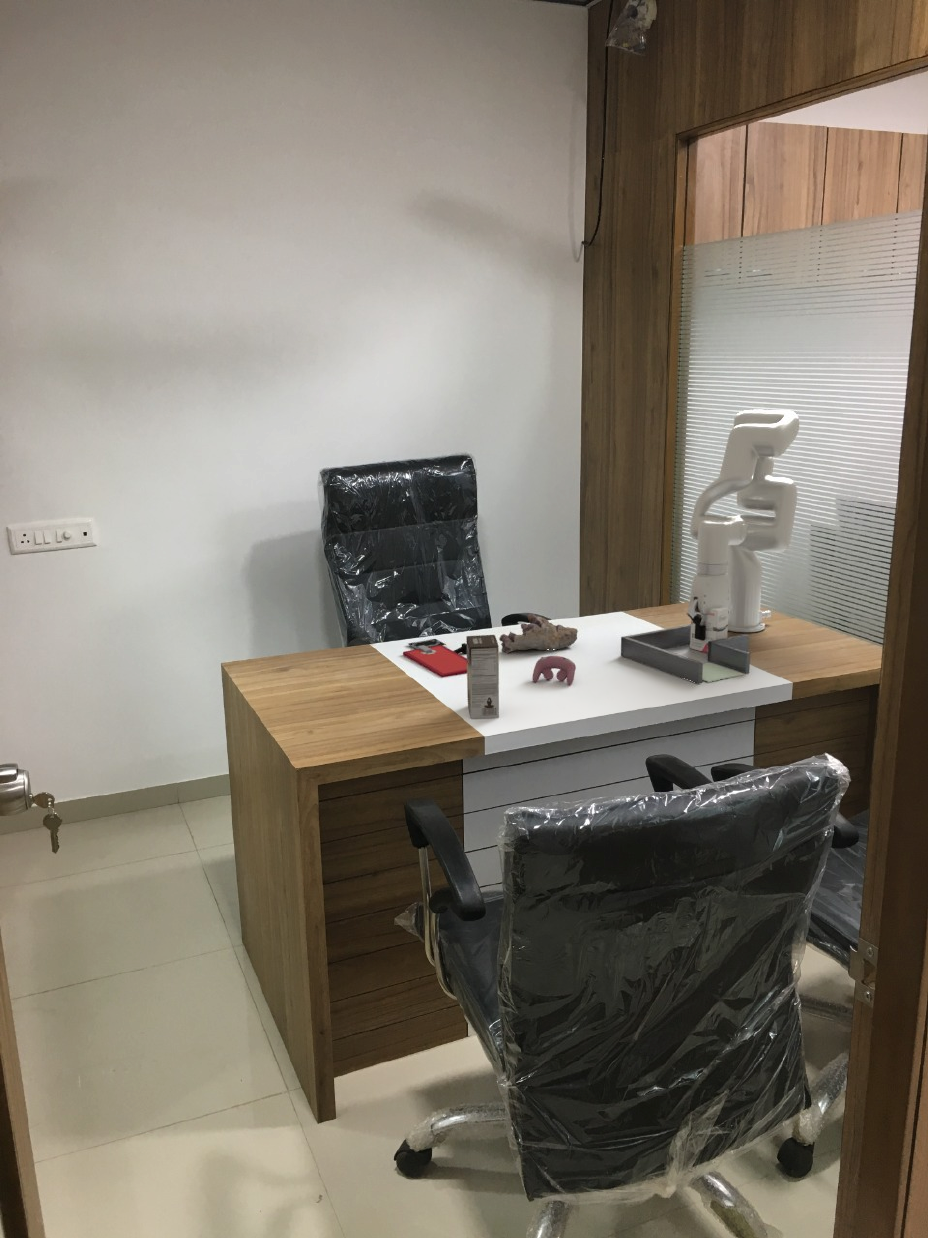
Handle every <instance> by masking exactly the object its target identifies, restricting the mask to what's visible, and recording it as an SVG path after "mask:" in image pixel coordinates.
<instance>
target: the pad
mask: <svg viewBox="0 0 928 1238" xmlns="http://www.w3.org/2000/svg"><path fill="white" fill-rule="evenodd" d="M743 674H744V673H742V672H739V671H736V670H733V669H730V668H727V667H725V666H722V665H719V664H716V663H713V662H705V663H703V673H702V680H704V681H703V682H705V681H707V682H710V683H713V682H712V681H714V682H716V681H715V680H719V681H721V680H720V679H723V680H726V679H725V678H728V679H731V678H736V677H740V676H743ZM707 682H706V683H707Z"/></svg>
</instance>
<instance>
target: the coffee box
mask: <svg viewBox="0 0 928 1238" xmlns="http://www.w3.org/2000/svg"><path fill="white" fill-rule="evenodd" d="M465 640H466V644H467V654H466V658H467V673H466V681H467V682H466V685H467V686H466V688H467V689H466V690H467V693H466V694H467V708H468V713H469V717H470V719H471V720H475V719H476V720H477V719H481V720H482V719H496V718H497V719H498V718H500V711H499V710H500V708H499V707H500V699H499V698H500V690H499V689H500V687H499V684H500V681H499V680H500V678H499V675H500V674H499V673H500V672H499V671H500V669H499V667H500V666H499V663H500V661H499V660H500V659H499V658H500V657H499V655H500V653H499V647H500V646H499V643H498V640H497V636H496V635H495V634H485V635H484V634H482V635H480V634H479V635H467V636H466V639H465Z"/></svg>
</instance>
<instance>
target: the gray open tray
mask: <svg viewBox="0 0 928 1238" xmlns="http://www.w3.org/2000/svg"><path fill="white" fill-rule="evenodd" d="M690 637H691V623H690V624H683V625H679V626H674V627H673V626H672V627H668V628H661V629H657V630H652V631H647V632H641V633H635V634H630V635H626V636H625V635H624V636H621V637H620V639H621V641H620V657H623V658H625V659H628V660H631V661H634V662H637V663H639V664H643V665H644V666H647V667H650V668H652V669H655V670H657V671H661V672H663V673H666V674H670V675H672V676H674V675H675V677H676V678H677V677H678V678H680V679H682V678H685V679H688V680H691V681H693V682H695V683H694V684H696V683H702V684H703V681H702V673H703V664H704V663H703V662H702V661H700V660H695V659H692V658H690V657H687V656H685V655H682V654H678V653H675V652H672V651H670V650H668V649H671V648H677V647H682V646H687V645H690ZM749 647H750V634H747V633H744V634H743V633H742V634H737V635H735V636H727V638H723V639H718V640H713V641H708V653H706V654H707V656H706V658H707V659H706V660H708V661H707V662H709V663H713V664H716V665H719V666H722V667H725V668H727V667H728V669H731V670H734V671H737V672H740V673H743V674H749V673H750V667H751V652H750V651H749V649H750V648H749ZM666 649H667V650H666ZM685 679H684V680H685ZM688 680H687V681H688ZM691 681H690V682H691ZM693 682H692V683H693Z"/></svg>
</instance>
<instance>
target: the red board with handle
mask: <svg viewBox="0 0 928 1238" xmlns="http://www.w3.org/2000/svg"><path fill="white" fill-rule="evenodd" d="M407 645H409V646H411V647H412V648H413V649H411V650H407V651H403V652H402V656H404V657H406V658H407V659H410V660H411V661H412V662H414V663H416V664H418V665H419V666H421V667H423V668H425V669H426V670H428V671H430V672H431V673H434V674H436V675H437V676H439V677H440V678H447V677H448V678H449V677H453V676H459V675H464V674H467V657H465V656H463V655H466V656H467V643H466V642H465V643H461V647H458V648H455V649H454V650H452V649H450V648H449V647H447V646H446V645H447V644H446V643H444V642H442V640H441V641H440V640H439V639H437V638H433V639H432V638H431V639H426V640H425V639H424V640H421V641H413V642H409V643H407ZM461 654H463V655H461Z"/></svg>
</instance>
